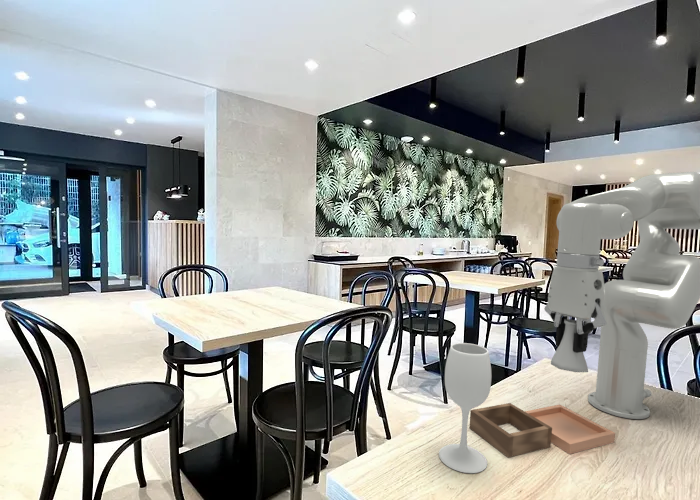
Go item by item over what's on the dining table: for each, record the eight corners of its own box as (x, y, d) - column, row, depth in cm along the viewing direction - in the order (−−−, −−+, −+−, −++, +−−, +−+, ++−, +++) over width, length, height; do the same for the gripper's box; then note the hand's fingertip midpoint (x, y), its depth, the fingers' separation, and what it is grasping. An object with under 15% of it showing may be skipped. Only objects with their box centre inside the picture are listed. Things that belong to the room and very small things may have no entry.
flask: (594, 375, 77) (599, 327, 77) (556, 371, 79) (559, 323, 78) (580, 363, 84) (584, 318, 84) (545, 359, 86) (548, 315, 85)
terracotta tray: (559, 412, 91) (559, 404, 91) (614, 442, 79) (615, 432, 79) (517, 421, 86) (518, 412, 86) (569, 454, 74) (570, 444, 74)
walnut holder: (508, 420, 87) (510, 402, 86) (550, 447, 76) (552, 427, 76) (469, 428, 82) (470, 410, 82) (507, 457, 72) (509, 437, 72)
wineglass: (429, 450, 74) (435, 343, 72) (466, 442, 77) (472, 339, 76) (458, 478, 66) (465, 358, 64) (497, 468, 69) (505, 354, 68)
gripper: (630, 267, 74) (622, 360, 75) (555, 258, 89) (550, 336, 90) (604, 267, 71) (595, 364, 72) (531, 258, 86) (526, 338, 88)
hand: (570, 347), depth 81 cm, fingers closed on flask, 3 cm apart
